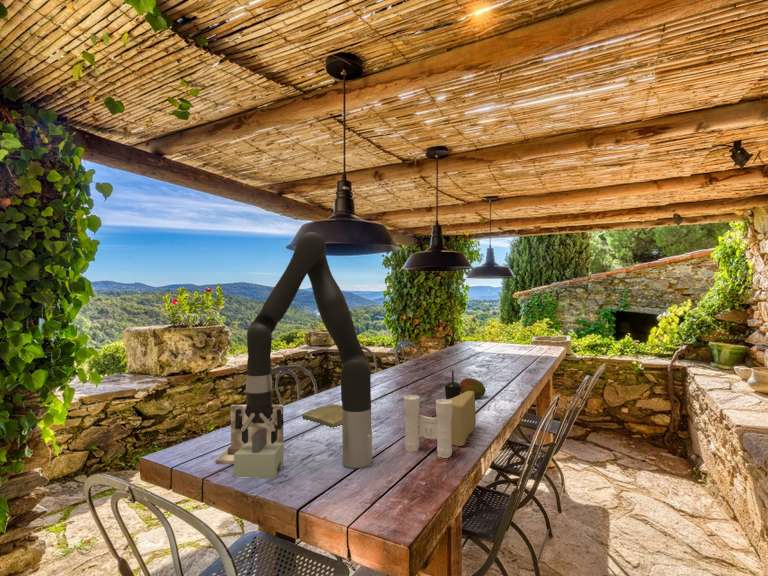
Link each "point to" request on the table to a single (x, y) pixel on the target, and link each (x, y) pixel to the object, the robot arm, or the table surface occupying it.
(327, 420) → the decorative tile
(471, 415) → the cheese
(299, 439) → the table surface
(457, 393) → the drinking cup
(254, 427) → the wooden stand
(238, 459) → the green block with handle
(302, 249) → the robot arm
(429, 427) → the binoculars
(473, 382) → the fruit
